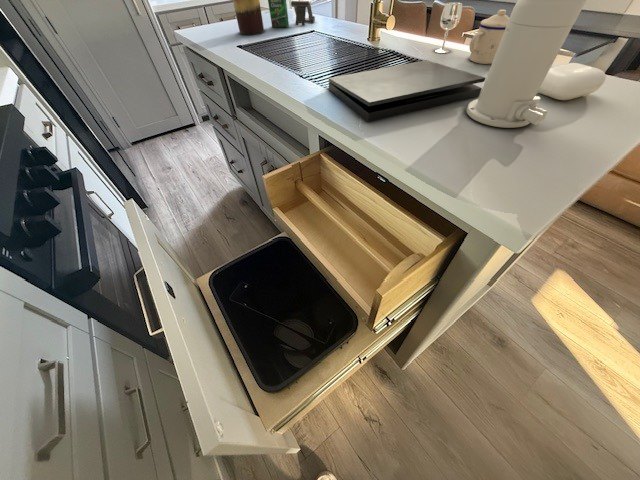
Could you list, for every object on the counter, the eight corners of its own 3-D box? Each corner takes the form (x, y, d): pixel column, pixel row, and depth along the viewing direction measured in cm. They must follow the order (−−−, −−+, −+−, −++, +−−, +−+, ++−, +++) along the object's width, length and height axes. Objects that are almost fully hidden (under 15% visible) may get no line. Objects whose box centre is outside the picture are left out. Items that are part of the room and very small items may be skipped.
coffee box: (271, 27, 124) (265, -11, 114) (273, 26, 126) (268, -12, 116) (286, 28, 122) (282, -12, 112) (289, 26, 124) (285, -12, 114)
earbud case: (521, 91, 64) (533, 66, 60) (559, 82, 67) (573, 57, 63) (561, 107, 58) (578, 79, 54) (601, 96, 61) (620, 69, 57)
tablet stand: (315, 22, 129) (314, -2, 122) (308, 25, 124) (307, 1, 118) (298, 21, 131) (297, -2, 125) (291, 24, 126) (289, 1, 120)
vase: (259, 34, 115) (248, -33, 100) (236, 35, 116) (221, -32, 101) (267, 29, 122) (257, -35, 107) (244, 29, 123) (232, -34, 108)
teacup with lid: (485, 54, 85) (502, 6, 76) (508, 61, 79) (529, 10, 71) (454, 59, 82) (468, 10, 74) (475, 68, 77) (493, 15, 68)
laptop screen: (484, 82, 61) (485, 77, 61) (369, 107, 55) (369, 102, 54) (426, 63, 75) (426, 60, 75) (328, 82, 69) (328, 78, 68)
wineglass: (452, 53, 87) (465, 5, 78) (433, 53, 88) (445, 5, 79) (450, 49, 90) (462, 1, 81) (432, 48, 91) (443, 2, 82)
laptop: (479, 96, 64) (482, 87, 62) (367, 121, 57) (368, 112, 55) (424, 71, 77) (426, 63, 75) (328, 89, 70) (328, 81, 69)
